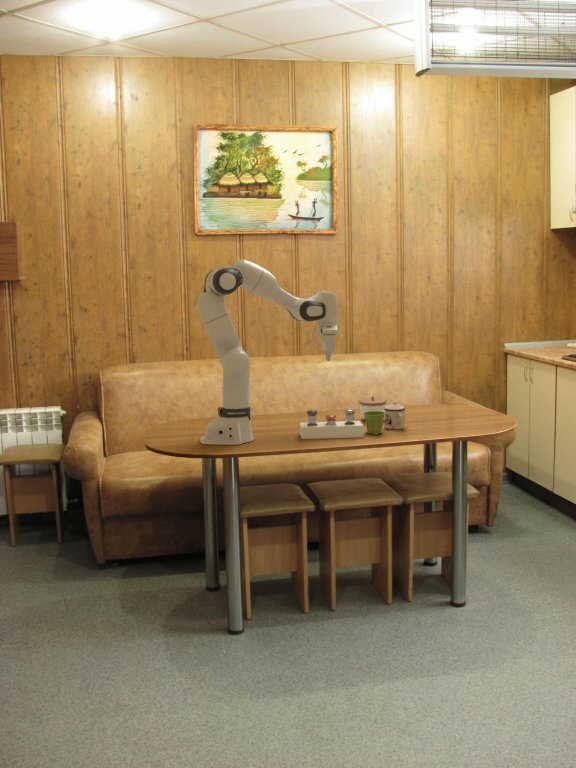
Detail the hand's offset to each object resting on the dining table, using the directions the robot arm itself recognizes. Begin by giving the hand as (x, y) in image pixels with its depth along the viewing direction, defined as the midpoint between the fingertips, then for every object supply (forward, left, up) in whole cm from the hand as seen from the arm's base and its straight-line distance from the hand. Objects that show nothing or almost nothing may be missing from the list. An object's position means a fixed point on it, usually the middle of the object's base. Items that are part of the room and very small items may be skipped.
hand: (328, 360), depth 347 cm
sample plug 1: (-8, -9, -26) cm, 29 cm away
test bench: (0, -9, -31) cm, 32 cm away
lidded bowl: (+23, +22, -31) cm, 45 cm away
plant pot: (+19, -6, -31) cm, 37 cm away
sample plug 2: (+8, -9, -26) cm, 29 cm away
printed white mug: (+30, +2, -31) cm, 43 cm away
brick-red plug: (0, -9, -29) cm, 30 cm away
